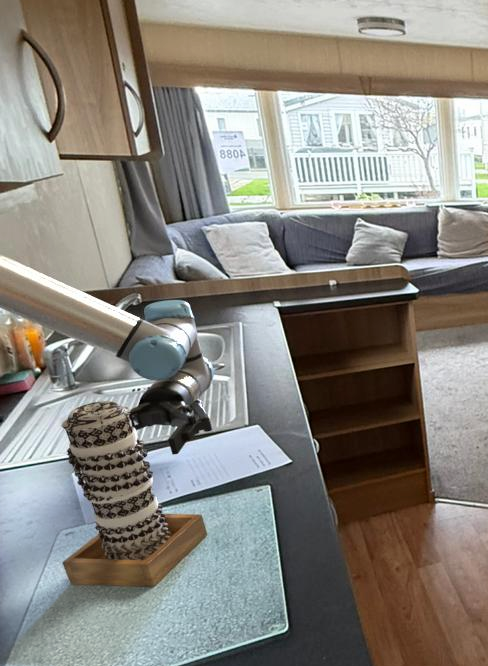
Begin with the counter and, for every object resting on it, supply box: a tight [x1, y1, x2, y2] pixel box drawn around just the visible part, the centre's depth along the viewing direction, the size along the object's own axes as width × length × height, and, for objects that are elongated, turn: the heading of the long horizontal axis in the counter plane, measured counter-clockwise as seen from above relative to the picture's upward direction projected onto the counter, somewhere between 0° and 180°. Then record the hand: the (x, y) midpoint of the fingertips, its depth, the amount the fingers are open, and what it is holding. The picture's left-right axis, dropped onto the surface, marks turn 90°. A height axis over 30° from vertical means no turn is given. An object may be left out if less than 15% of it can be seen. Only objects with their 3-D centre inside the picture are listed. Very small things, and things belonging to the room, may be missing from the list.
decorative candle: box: [60, 400, 171, 560], centre depth 97 cm, size 9×9×25 cm
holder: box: [61, 513, 208, 588], centre depth 102 cm, size 13×13×4 cm
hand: (123, 452), depth 100 cm, fingers open, 13 cm apart
